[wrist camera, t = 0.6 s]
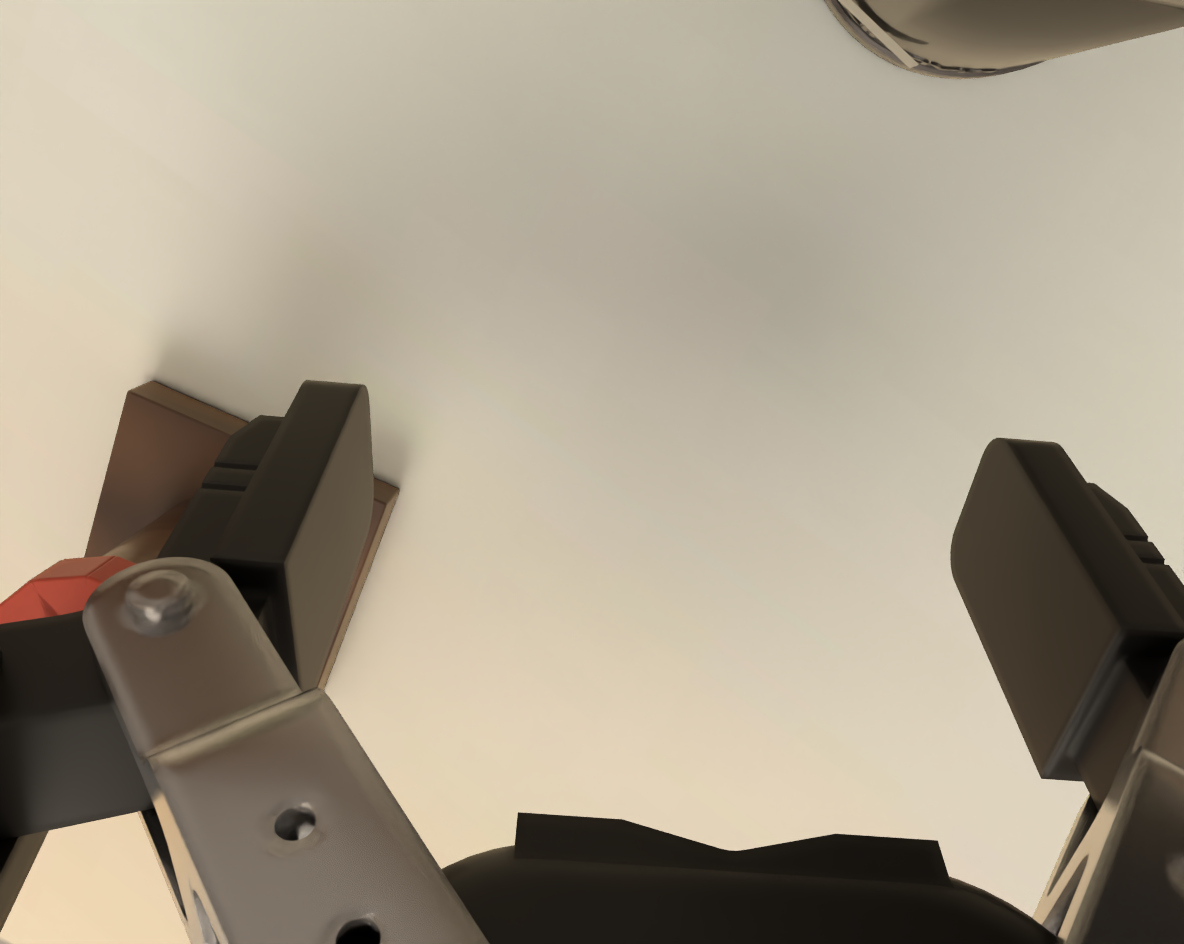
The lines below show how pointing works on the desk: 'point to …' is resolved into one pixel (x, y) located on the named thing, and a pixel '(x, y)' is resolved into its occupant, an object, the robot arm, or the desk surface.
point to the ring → (60, 588)
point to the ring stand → (186, 484)
